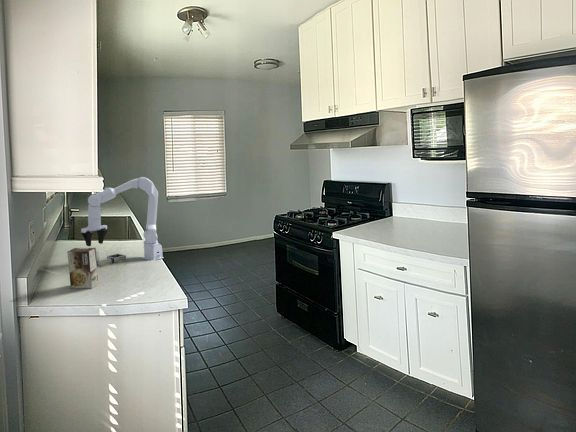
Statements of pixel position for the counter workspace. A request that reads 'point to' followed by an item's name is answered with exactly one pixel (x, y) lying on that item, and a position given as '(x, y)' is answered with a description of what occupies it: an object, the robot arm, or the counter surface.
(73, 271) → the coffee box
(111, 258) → the panel
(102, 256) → the plug
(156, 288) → the counter surface
